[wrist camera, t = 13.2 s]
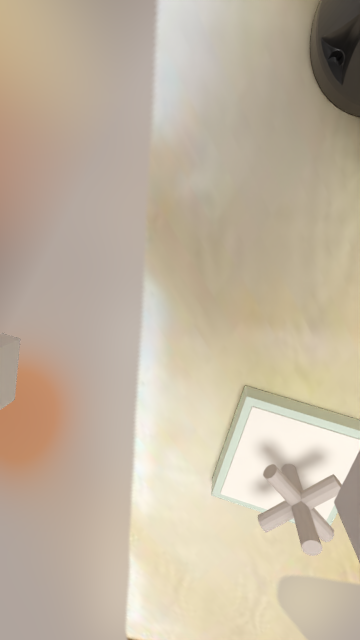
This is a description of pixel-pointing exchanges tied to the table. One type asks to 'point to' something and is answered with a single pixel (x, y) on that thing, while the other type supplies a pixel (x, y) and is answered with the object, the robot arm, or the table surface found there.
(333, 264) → the table surface
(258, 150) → the table surface
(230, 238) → the table surface
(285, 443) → the stand
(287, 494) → the pipe connector
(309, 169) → the table surface
